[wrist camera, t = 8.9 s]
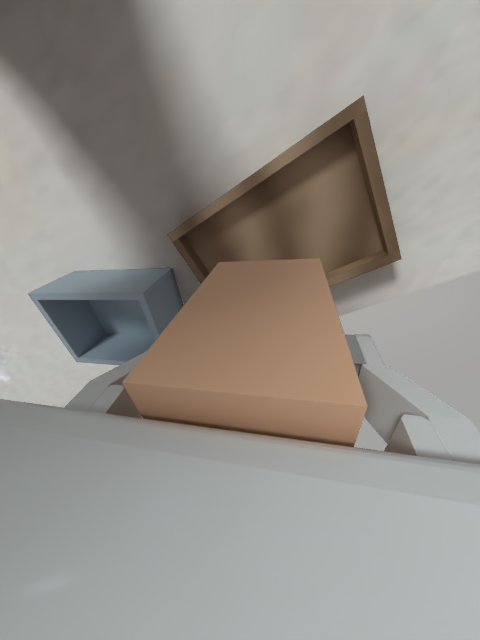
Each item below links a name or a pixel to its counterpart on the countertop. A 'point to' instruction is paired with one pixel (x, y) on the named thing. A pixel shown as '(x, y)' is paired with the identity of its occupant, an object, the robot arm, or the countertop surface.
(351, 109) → the tray
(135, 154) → the countertop surface
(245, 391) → the block
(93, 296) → the blue-grey storage bin
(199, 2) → the countertop surface
